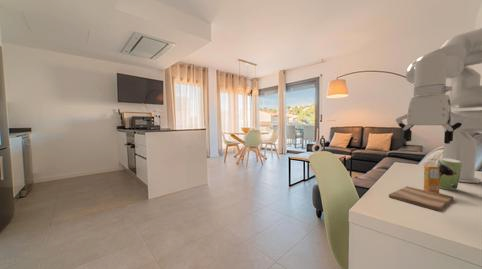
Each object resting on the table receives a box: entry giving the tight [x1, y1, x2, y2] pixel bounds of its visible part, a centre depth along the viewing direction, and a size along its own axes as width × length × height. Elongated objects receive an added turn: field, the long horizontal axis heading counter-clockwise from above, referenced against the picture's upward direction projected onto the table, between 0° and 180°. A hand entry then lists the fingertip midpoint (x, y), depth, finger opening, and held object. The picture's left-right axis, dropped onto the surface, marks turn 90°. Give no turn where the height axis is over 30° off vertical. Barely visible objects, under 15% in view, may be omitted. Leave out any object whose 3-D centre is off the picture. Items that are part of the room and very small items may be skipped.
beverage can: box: [437, 157, 462, 191], centre depth 71 cm, size 6×7×12 cm
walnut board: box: [388, 186, 454, 212], centre depth 62 cm, size 16×12×1 cm
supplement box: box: [423, 164, 440, 194], centre depth 67 cm, size 3×3×10 cm
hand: (426, 142), depth 62 cm, fingers open, 9 cm apart
